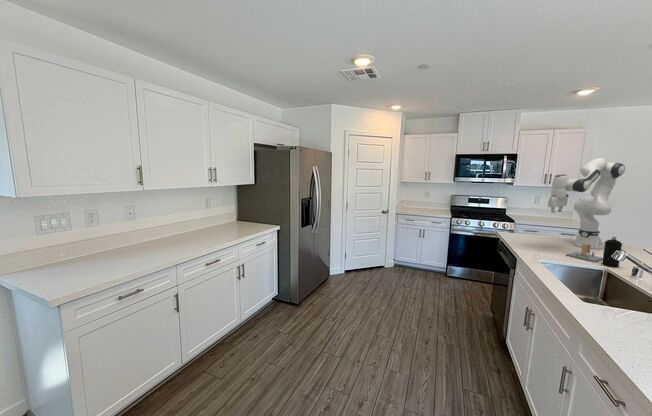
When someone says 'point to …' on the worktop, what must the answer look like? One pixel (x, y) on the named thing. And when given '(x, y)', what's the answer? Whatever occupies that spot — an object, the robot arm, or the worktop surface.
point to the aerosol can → (611, 252)
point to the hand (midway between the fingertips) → (556, 212)
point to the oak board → (585, 249)
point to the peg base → (587, 258)
